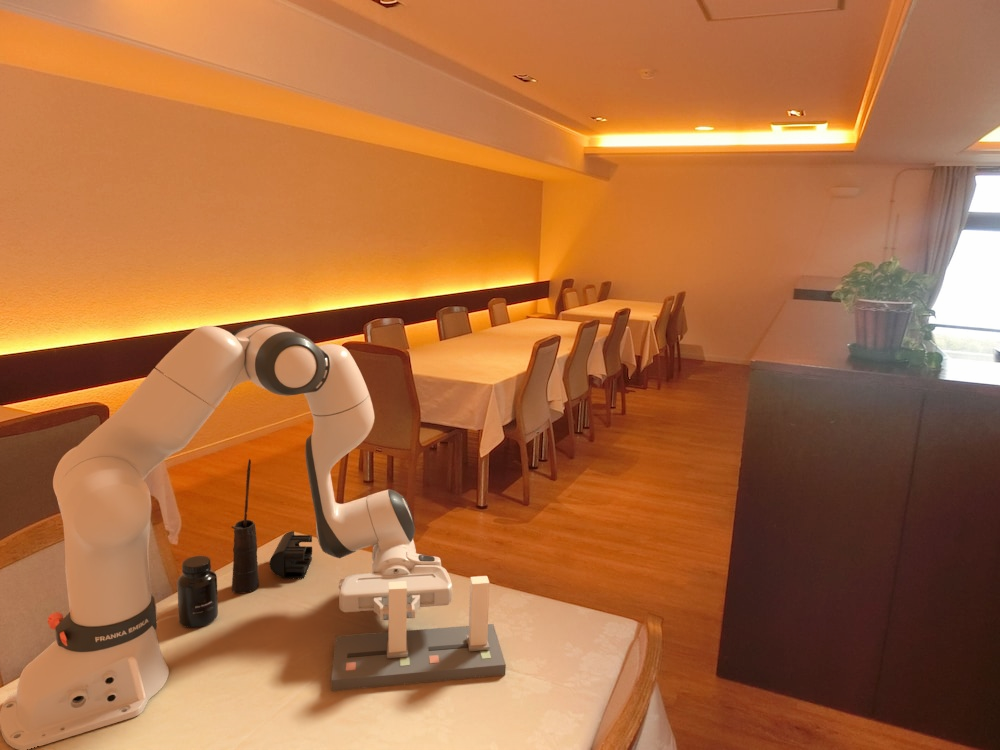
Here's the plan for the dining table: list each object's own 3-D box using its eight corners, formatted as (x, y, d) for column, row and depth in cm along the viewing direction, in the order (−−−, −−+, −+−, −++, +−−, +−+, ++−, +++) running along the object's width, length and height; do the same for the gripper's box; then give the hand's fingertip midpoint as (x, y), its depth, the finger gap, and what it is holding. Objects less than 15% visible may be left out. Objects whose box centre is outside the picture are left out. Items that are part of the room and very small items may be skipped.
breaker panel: (331, 690, 105) (331, 679, 104) (335, 645, 116) (335, 635, 116) (505, 674, 110) (505, 664, 110) (493, 633, 122) (493, 623, 122)
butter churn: (226, 608, 127) (219, 474, 121) (210, 587, 134) (202, 460, 128) (272, 592, 133) (267, 464, 127) (254, 574, 140) (249, 451, 134)
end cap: (281, 557, 147) (280, 530, 146) (312, 557, 148) (312, 530, 146) (269, 580, 137) (268, 551, 136) (303, 580, 138) (302, 551, 137)
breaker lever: (469, 651, 113) (471, 586, 110) (466, 637, 117) (468, 574, 114) (489, 649, 113) (492, 585, 111) (485, 635, 117) (488, 573, 115)
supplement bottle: (203, 631, 119) (199, 572, 116) (171, 626, 120) (166, 567, 118) (226, 611, 126) (223, 555, 123) (195, 606, 127) (191, 550, 124)
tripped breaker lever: (386, 658, 110) (387, 592, 107) (386, 643, 114) (386, 579, 111) (408, 656, 111) (408, 590, 108) (407, 642, 115) (407, 578, 112)
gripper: (339, 562, 121) (334, 603, 107) (447, 556, 124) (456, 595, 111) (339, 593, 122) (335, 636, 109) (447, 586, 126) (455, 627, 112)
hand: (397, 615), depth 110 cm, fingers closed on tripped breaker lever, 3 cm apart
